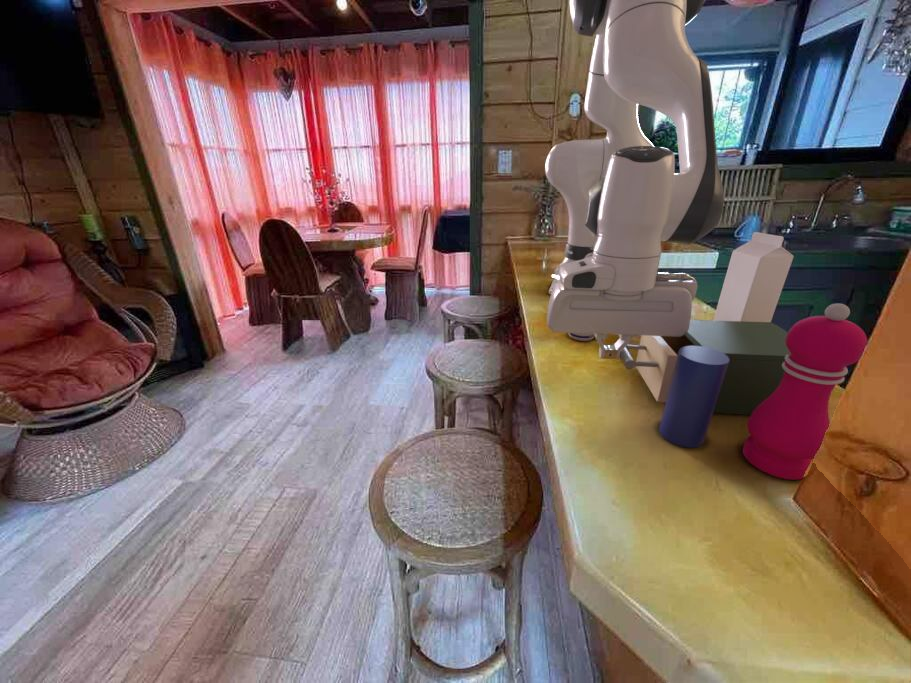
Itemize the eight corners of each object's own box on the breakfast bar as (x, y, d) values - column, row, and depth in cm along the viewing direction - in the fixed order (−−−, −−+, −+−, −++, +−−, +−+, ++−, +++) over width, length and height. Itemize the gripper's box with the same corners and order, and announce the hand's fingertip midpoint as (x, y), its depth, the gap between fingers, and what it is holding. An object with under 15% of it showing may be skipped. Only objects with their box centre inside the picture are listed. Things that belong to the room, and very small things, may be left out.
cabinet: (692, 411, 55) (709, 352, 51) (662, 370, 66) (673, 319, 62) (804, 418, 53) (831, 357, 49) (752, 374, 64) (771, 322, 60)
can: (653, 421, 53) (672, 344, 48) (693, 424, 52) (716, 346, 47) (667, 446, 48) (689, 363, 43) (711, 449, 47) (738, 365, 42)
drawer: (623, 400, 56) (632, 353, 53) (606, 364, 66) (613, 323, 63) (757, 407, 54) (775, 359, 50) (718, 369, 64) (731, 327, 61)
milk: (728, 360, 69) (766, 237, 59) (705, 346, 74) (736, 232, 65) (759, 358, 69) (801, 236, 60) (733, 344, 75) (769, 230, 65)
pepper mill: (724, 441, 49) (775, 293, 40) (781, 441, 48) (845, 292, 40) (764, 483, 42) (835, 317, 34) (831, 484, 42) (919, 316, 33)
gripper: (691, 268, 55) (671, 351, 61) (549, 266, 58) (543, 346, 64) (711, 279, 50) (686, 370, 55) (553, 276, 53) (545, 363, 58)
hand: (608, 357), depth 60 cm, fingers closed
